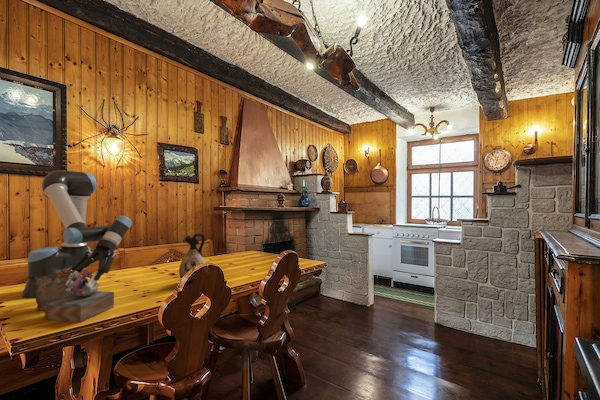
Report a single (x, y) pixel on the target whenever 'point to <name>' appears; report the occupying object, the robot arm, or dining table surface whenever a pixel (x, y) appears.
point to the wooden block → (78, 307)
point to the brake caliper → (81, 284)
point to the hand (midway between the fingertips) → (78, 286)
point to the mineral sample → (50, 288)
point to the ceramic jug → (192, 254)
